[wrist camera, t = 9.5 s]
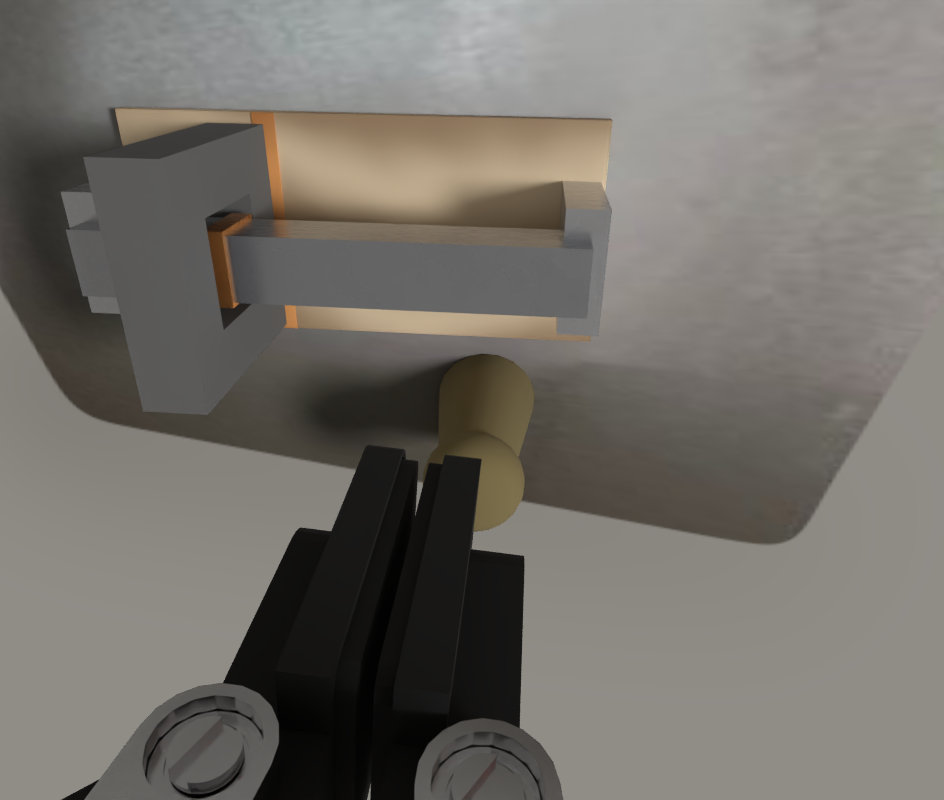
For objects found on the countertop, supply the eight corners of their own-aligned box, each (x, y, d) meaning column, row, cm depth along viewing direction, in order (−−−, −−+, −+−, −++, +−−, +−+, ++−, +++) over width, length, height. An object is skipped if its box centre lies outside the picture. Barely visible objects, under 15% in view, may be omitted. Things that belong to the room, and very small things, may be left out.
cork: (443, 440, 46) (416, 550, 36) (434, 355, 43) (402, 450, 33) (536, 438, 45) (534, 550, 35) (532, 352, 42) (529, 448, 32)
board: (122, 107, 38) (114, 108, 37) (610, 118, 36) (612, 120, 35) (165, 316, 43) (159, 321, 42) (589, 336, 41) (590, 342, 41)
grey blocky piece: (131, 167, 38) (38, 198, 31) (601, 182, 36) (614, 218, 29) (153, 273, 41) (72, 324, 34) (590, 292, 39) (600, 349, 32)
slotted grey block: (206, 122, 36) (82, 156, 26) (262, 124, 36) (158, 159, 26) (237, 321, 41) (143, 411, 32) (286, 323, 41) (207, 414, 31)
